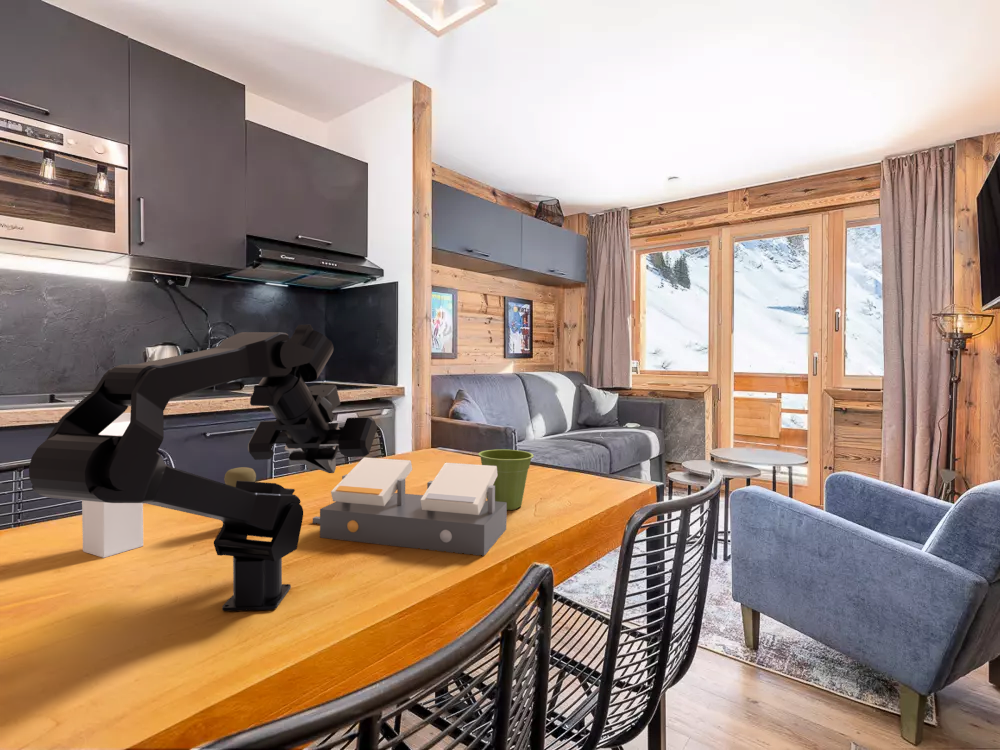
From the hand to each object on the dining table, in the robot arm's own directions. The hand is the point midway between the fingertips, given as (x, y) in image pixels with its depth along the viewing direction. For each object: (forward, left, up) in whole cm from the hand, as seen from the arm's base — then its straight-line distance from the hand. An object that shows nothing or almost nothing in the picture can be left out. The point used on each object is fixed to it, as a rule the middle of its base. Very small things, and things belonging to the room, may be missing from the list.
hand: (332, 470), depth 86 cm
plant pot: (+25, -30, -13) cm, 41 cm away
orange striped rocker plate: (+11, -5, -4) cm, 13 cm away
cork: (+13, +20, -13) cm, 27 cm away
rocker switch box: (+9, -10, -13) cm, 19 cm away
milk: (+3, +36, -13) cm, 38 cm away
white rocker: (+5, -21, -4) cm, 22 cm away
